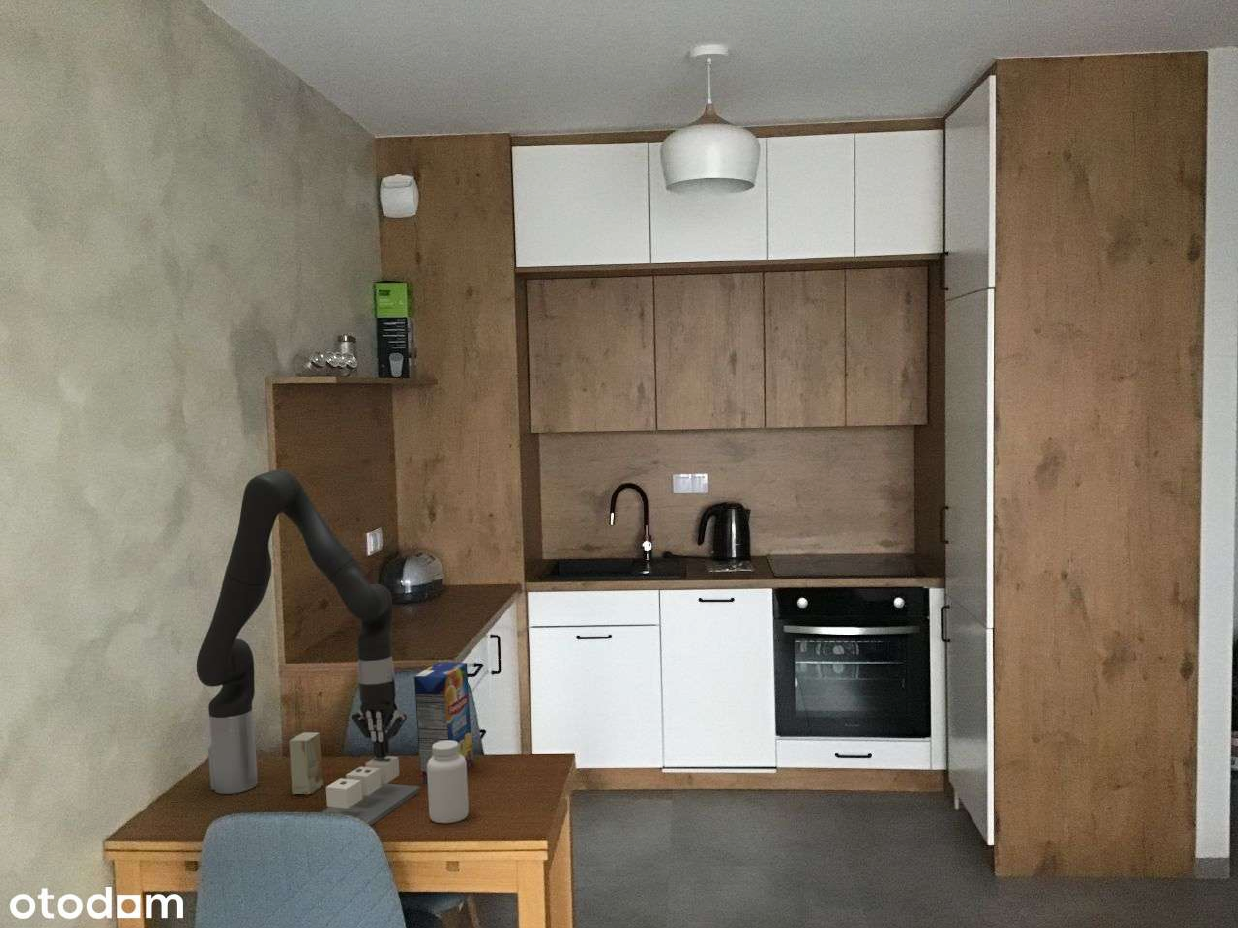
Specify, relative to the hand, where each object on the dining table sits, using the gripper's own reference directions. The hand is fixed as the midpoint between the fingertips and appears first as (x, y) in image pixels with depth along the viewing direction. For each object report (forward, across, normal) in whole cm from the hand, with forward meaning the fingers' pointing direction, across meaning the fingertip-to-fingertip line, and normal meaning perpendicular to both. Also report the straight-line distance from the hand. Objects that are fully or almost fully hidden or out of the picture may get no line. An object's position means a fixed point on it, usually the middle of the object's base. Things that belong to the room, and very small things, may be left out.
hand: (381, 757), depth 223 cm
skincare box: (+9, -19, -1) cm, 21 cm away
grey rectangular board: (+8, 0, -7) cm, 11 cm away
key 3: (+5, 0, 0) cm, 5 cm away
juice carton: (+9, +7, +15) cm, 19 cm away
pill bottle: (+9, +20, -7) cm, 23 cm away
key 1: (+5, 0, -14) cm, 15 cm away
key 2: (+5, 0, -7) cm, 8 cm away
